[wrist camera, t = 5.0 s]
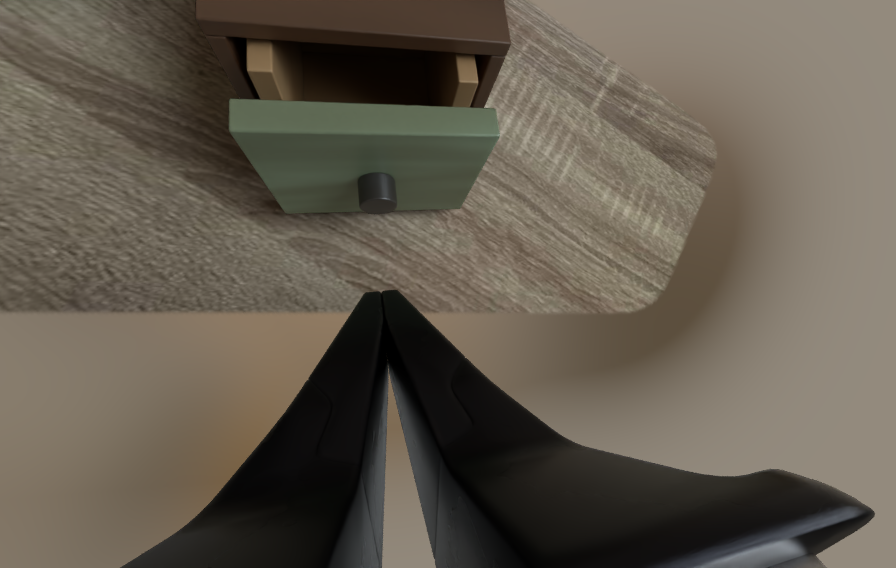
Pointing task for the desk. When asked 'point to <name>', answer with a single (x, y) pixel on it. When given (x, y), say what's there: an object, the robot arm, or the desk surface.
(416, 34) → the cabinet
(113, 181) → the desk surface
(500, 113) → the desk surface
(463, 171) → the drawer
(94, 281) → the desk surface
